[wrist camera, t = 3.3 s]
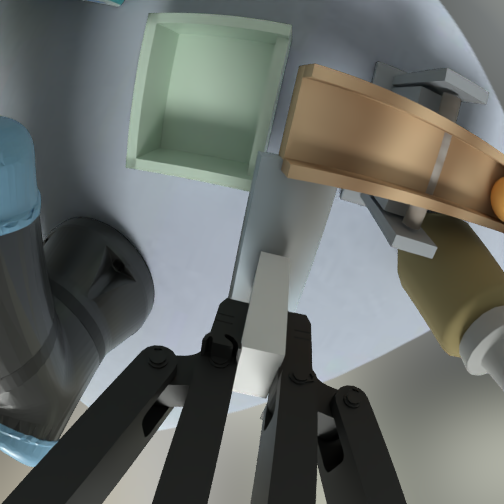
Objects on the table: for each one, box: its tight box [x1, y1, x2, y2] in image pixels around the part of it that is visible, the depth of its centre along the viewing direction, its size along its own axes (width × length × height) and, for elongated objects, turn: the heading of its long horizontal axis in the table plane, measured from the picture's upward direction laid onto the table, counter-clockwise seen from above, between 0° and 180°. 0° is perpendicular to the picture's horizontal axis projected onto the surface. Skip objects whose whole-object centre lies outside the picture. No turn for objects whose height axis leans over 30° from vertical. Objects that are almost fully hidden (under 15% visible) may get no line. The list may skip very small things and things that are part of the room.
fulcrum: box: [340, 61, 489, 259], centre depth 17 cm, size 6×12×10 cm, turn 169°
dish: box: [126, 13, 292, 192], centre depth 20 cm, size 10×12×5 cm
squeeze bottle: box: [398, 213, 504, 391], centre depth 17 cm, size 8×8×18 cm
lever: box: [228, 64, 504, 313], centre depth 17 cm, size 19×15×6 cm
